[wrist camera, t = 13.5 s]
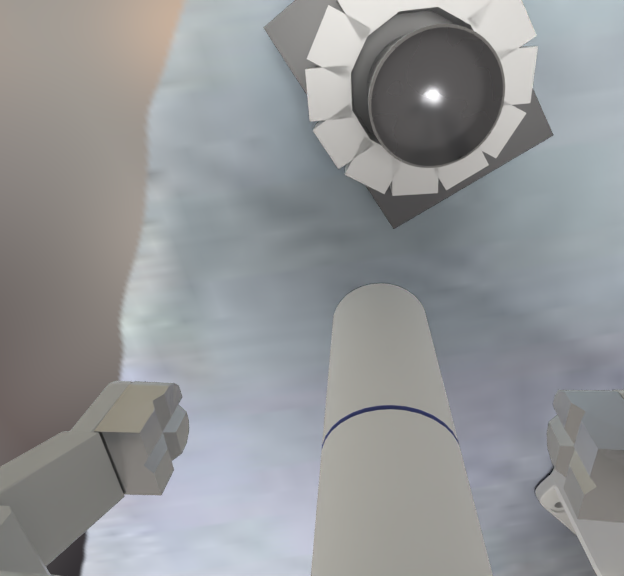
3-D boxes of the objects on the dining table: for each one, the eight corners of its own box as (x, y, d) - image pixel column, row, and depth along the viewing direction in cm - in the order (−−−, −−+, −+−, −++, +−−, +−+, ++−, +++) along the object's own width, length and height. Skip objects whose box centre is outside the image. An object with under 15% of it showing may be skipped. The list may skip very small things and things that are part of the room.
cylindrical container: (419, 275, 32) (561, 788, 10) (432, 354, 35) (558, 873, 13) (323, 292, 33) (257, 775, 11) (343, 366, 36) (323, 855, 14)
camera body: (527, 116, 26) (579, 137, 20) (382, 205, 29) (389, 246, 23) (429, -97, 22) (457, -152, 16) (274, 35, 25) (247, 32, 19)
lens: (465, 25, 20) (514, 15, 14) (458, 131, 22) (497, 164, 16) (363, 35, 20) (366, 31, 14) (366, 138, 23) (370, 172, 16)
